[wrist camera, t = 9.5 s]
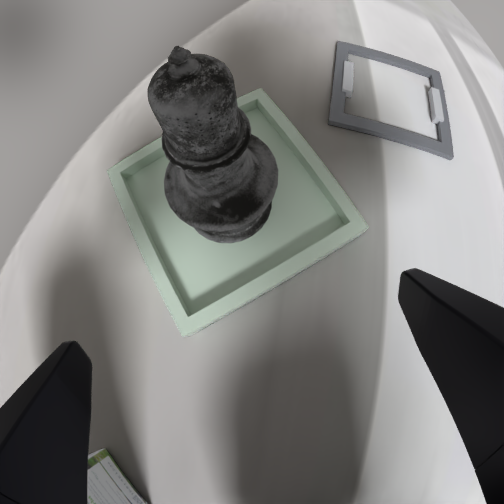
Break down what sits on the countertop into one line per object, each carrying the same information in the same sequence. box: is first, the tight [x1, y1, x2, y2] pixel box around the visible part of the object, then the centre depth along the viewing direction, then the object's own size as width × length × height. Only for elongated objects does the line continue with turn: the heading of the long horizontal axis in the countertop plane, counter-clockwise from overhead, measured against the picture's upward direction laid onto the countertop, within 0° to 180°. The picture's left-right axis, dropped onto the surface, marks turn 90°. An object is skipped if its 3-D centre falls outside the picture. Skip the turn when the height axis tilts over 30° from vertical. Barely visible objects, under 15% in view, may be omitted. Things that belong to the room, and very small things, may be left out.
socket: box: [328, 41, 454, 160], centre depth 20 cm, size 10×10×1 cm
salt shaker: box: [148, 46, 278, 243], centre depth 13 cm, size 6×6×12 cm
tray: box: [107, 88, 368, 337], centre depth 19 cm, size 12×12×2 cm
